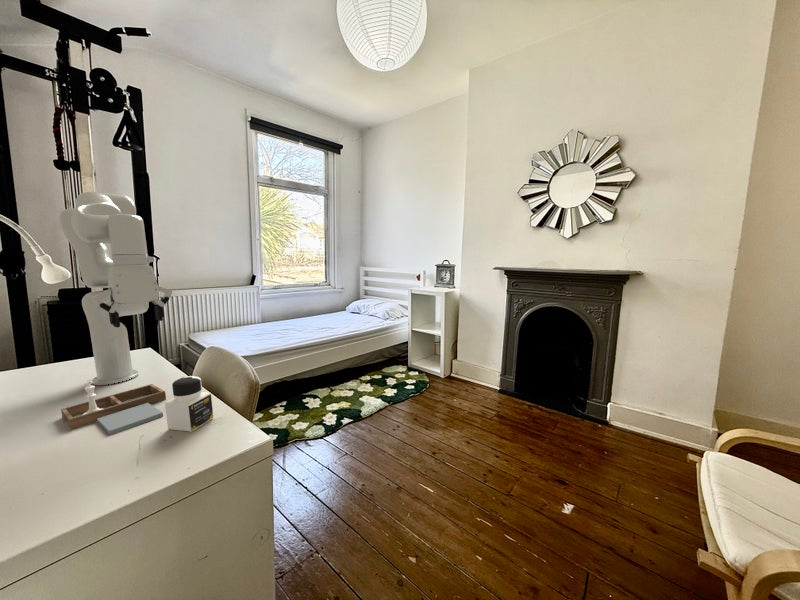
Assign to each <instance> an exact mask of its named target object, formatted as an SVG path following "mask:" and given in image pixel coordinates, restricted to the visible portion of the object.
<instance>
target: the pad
mask: <svg viewBox="0 0 800 600" xmlns="http://www.w3.org/2000/svg"><path fill="white" fill-rule="evenodd" d="M162 417H164V412H163V411H161V410H160V409H158V408H157V407H155V406H153V404H149V403H145V404H142V405H138V406H135V407H132V408H129V409H126V410H122V411H119V412H116V413H113V414H110V415H106V416H103V417H100V418H97V421H96V422H97V424H98V425H99V426H100V427H101V428H102V429H104V431H105V432H106V433H107V434H108V435H109V436H111V435H113V434H116V433H119V432H122V431H125V430H128V429H130V428H133V427H137V426H139V425H142V424H144V423H147V422H151V421H153V420H156V419H160V418H162Z"/></svg>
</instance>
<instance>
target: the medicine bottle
mask: <svg viewBox="0 0 800 600" xmlns="http://www.w3.org/2000/svg"><path fill="white" fill-rule="evenodd" d="M171 386H172V387H171V388H172V395H173V398H171V399H169V400H167V401H165V402H164V408H165V415H166V423H167V429H168V430H172V431H181V432H188V433H189V432H190V433H192V432H194V431H195V430H197V429H199V428H200V427H201V426H203V425H205V424H206V423H209V422H210V421H211V420H212V418H213V419H214V409H213V401H212V400H213V399H212V393H211V392H207V391H205V392H204V391H203V386H202V378H201V377H199V376H196V375H195V376H194V375H189V376H184V377H180V378H178V379H176V380H174V381H173V382H172V385H171Z"/></svg>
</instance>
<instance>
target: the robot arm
mask: <svg viewBox="0 0 800 600" xmlns="http://www.w3.org/2000/svg"><path fill="white" fill-rule="evenodd" d="M75 205H76V206H75V207H74V208H73V207H72V208H71V207H70V208H67V209H63V210H61V212H60V213H59V216H58V219H59V224H60V229H61V230H62V232H63V235H64V237H65V238H66V239H67V241H68V242H69V244H70V245H71V247H72V248H73V250H74V251H75V255H76V259H77V263H78V267H79V272H80V275H81V278H82V282H83V284H84V285H85V286H86V287H87V288H91V289H102V290H95V291H92V292H88V293H86V294H85V295H84V296H83V297H82V299H81V306H82V309H83V312H84V314H85V316H86V317H85V318H86V320H87V324H88V329H89V333H90V340H91V345H92V352H93V358H94V365H95V374H96V376H95V377H94V378H92V379H90V382H91V381H93V383H91V385H93V384H94V385H93V386H108V384H109V385H115V384H119V383H118V382H120V383H123V382H126V380H127V381H129V379H130V380H132V379H134V378H136V377H138V376H139V374H138V373H139V370H137V369H133V364H132V356H131V350H130V343H129V335H128V330H127V327H126V326H125V324H123V323H122V322H120V318H121V317H124V316H127V317H128V316H133V315H140V314H144V313H146V312H147V311H148V309H149V308H150V307H149V303H151V302H152V304H154V315H155V317H154V318H155V320H156V321H159V322H163V320H164V319H163V318H164V317H165V312H164V307H165V306H166V304H168V302H169V300H170V298H171V296H172V294H173V291H172V290H171V289H168V288H165V287H162V286H160V285H158V281H157V278H156V274H155V272H154V268H153V266H152V265H150V263H152V262H155V257H154V256H149V254H148V247H147V240H146V232H145V230H146V229H145V223H144V219H143V218H142V217H141V216H140V215H137V207H136V204H135V202H134V201H133V200H132V198H130V197H129V196H127V195H125V194H118V193H108V192H100V191H85V192H82V193H80V194H78V195H77V196H76V199H75ZM106 244H109V246H110V251H111V253H110V251H109V248H108V247H107V245H106ZM110 254H111V255H110ZM103 289H105V290H103ZM160 292H161V293H163V297H161V299H160ZM137 375H138V376H137ZM131 378H132V379H131ZM122 381H123V382H122ZM114 383H115V384H114Z"/></svg>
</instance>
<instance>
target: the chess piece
mask: <svg viewBox="0 0 800 600" xmlns="http://www.w3.org/2000/svg"><path fill="white" fill-rule="evenodd" d="M92 383H93V381H91V379H88V380H86V382H85V383H84V386H86V387H84V390H85V392H86V393H87V395H85V398H88V401H89V410H88V411H87V412H84V413H82V415H85V414H88V413H91V412H95V411H98V410H101V409H102V408H97V405H96V403H95V400H96V399H95V397H96V396H97V394H96V393H94V392H95V388H96V387H95V386H96V385H92Z"/></svg>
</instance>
